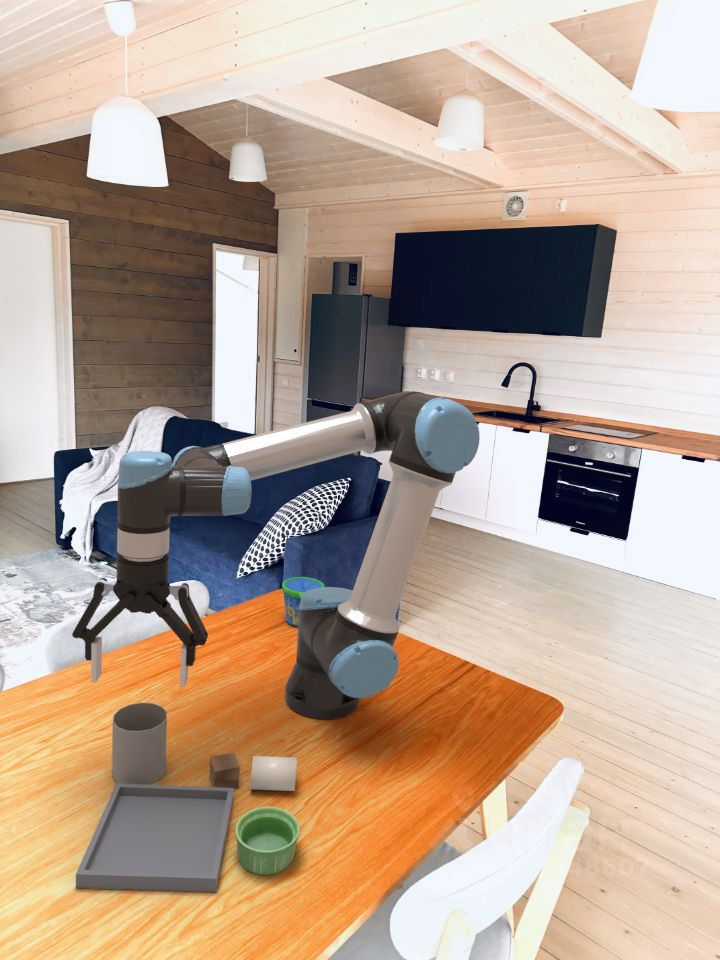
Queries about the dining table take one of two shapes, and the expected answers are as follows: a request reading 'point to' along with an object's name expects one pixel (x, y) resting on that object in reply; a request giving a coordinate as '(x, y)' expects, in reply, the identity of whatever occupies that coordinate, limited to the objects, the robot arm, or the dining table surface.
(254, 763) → the canister
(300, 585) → the snack cup
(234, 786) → the walnut block
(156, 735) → the cup
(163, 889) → the tray
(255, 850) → the ramekin
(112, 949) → the dining table surface
